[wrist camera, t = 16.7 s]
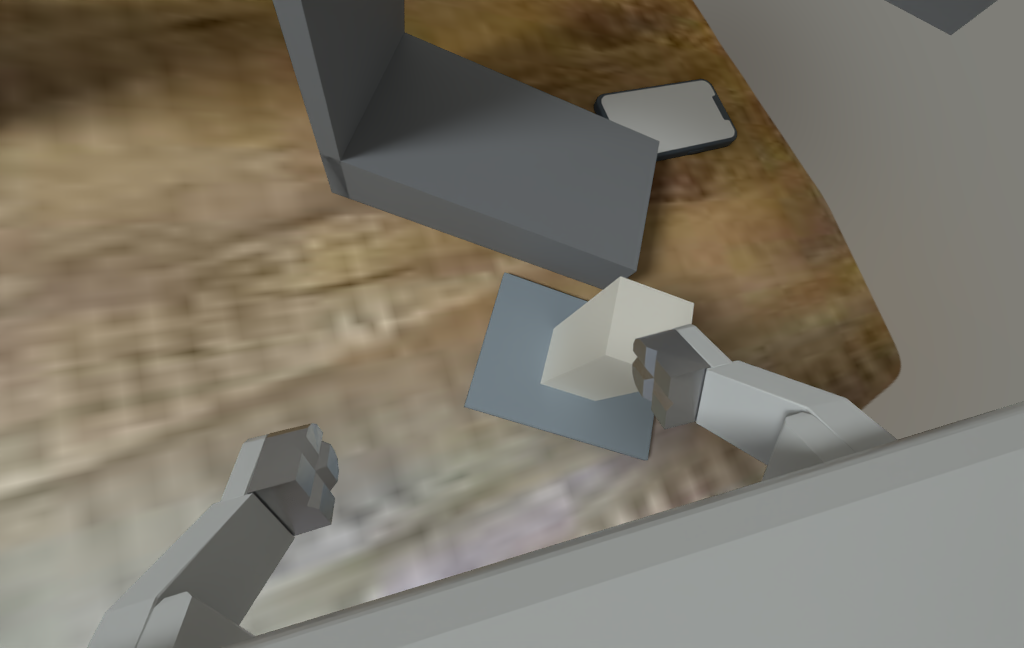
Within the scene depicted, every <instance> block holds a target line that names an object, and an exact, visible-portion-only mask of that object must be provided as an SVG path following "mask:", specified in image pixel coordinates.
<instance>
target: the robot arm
mask: <svg viewBox="0 0 1024 648" xmlns="http://www.w3.org/2000/svg"><path fill="white" fill-rule="evenodd" d="M633 352H634V353H635V354H636V356H637V358H636V359H635V361H634V362H633V363H632V374H633V378H634V382H635V385H636V387H637V389H638V391H639V393H640V394H641V396H642V397H643V398H645V399H647V400H649V401H651V402H652V405H651V411H652V412H653V413H654V415H655V416H656V418H657V419H658V421H659V422H660V424H661V425H662V427H663V428H664V429H668V428H672V427H676V426H679V425H683V424H687V423H691V422H695V421H696V423H697V424H699V425H700V426H702V427H704V428H706V429H707V430H709V431H711V432H712V433H714V434H716V435H717V436H719V437H721V438H722V439H724V440H726V441H727V442H729V443H731V444H732V445H734V446H736V447H737V448H739V449H741V450H743V451H744V452H746V453H748V454H749V455H751V456H753V457H754V458H756V459H758V460H759V461H761V462H763V463H764V464H766V465H767V468H766V471H765V473H764V476H763V478H762V481H761V482H758V483H755V484H752V485H748V486H745V487H742V488H739V489H735V490H732V491H729V492H726V493H722V494H719V495H716V496H712V497H709V498H706V499H703V500H699V501H696V502H693V503H690V504H686V505H683V506H680V507H676V508H673V509H670V510H667V511H663V512H660V513H657V514H654V515H650V516H647V517H644V518H640V519H637V520H634V521H631V522H627V523H624V524H621V525H618V526H614V527H611V528H608V529H604V530H601V531H598V532H595V533H591V534H588V535H585V536H582V537H578V538H575V539H572V540H569V541H565V542H562V543H559V544H555V545H552V546H549V547H546V548H542V549H539V550H536V551H533V552H529V553H526V554H523V555H520V556H516V557H513V558H510V559H507V560H503V561H500V562H497V563H494V564H490V565H487V566H484V567H481V568H477V569H474V570H471V571H467V572H464V573H461V574H458V575H454V576H451V577H448V578H445V579H441V580H438V581H435V582H432V583H428V584H425V585H422V586H419V587H415V588H412V589H409V590H405V591H402V592H399V593H396V594H392V595H389V596H386V597H383V598H379V599H376V600H373V601H369V602H366V603H363V604H360V605H356V606H353V607H350V608H347V609H343V610H340V611H337V612H333V613H330V614H327V615H324V616H320V617H317V618H314V619H311V620H307V621H304V622H301V623H297V624H294V625H291V626H288V627H284V628H281V629H278V630H275V631H271V632H268V633H265V634H261V635H258V636H254V635H253V634H251V633H250V632H248V631H247V630H245V629H244V628H242V627H241V626H239V624H240V623H241V621H242V620H243V618H244V616H245V615H246V613H247V612H248V610H249V609H250V607H251V606H252V604H253V602H254V601H255V599H256V598H257V596H258V595H259V593H260V591H261V590H262V588H263V587H264V585H265V584H266V582H267V581H268V579H269V577H270V576H271V574H272V573H273V571H274V570H275V568H276V567H277V565H278V563H279V562H280V560H281V559H282V557H283V556H284V554H285V552H286V551H287V549H288V548H289V546H290V545H291V543H292V542H293V540H294V536H296V535H299V534H302V533H305V532H309V531H312V530H315V529H318V528H321V527H325V526H328V525H331V522H332V516H333V509H334V502H335V497H334V496H333V495H332V493H331V492H330V491H331V489H332V488H333V487H334V486H335V484H336V483H337V481H338V473H339V469H338V459H337V456H336V454H335V451H334V449H333V448H332V446H331V444H329V443H326V442H324V441H321V440H322V435H323V432H322V431H321V429H320V428H319V427H318V425H317V424H312V423H311V424H307V425H303V426H299V427H295V428H290V429H286V430H282V431H278V432H274V433H270V434H267V435H263V436H259V437H254V438H250V439H248V440H247V441H246V442H245V443H244V444H243V445H242V448H241V450H240V453H239V455H238V458H237V460H236V463H235V465H234V468H233V470H232V473H231V475H230V478H229V481H228V483H227V486H226V488H225V491H224V493H223V496H222V498H221V501H220V502H217V503H214V504H212V505H211V506H210V507H209V508H208V509H207V510H206V511H205V512H204V513H203V514H202V515H201V516H200V517H199V519H198V520H197V521H196V522H195V523H194V524H193V525H192V526H191V527H190V528H189V529H188V530H187V531H186V532H185V533H184V534H183V535H182V536H181V537H180V538H179V539H178V540H177V541H176V542H175V543H174V544H173V545H172V546H171V547H170V548H169V549H168V550H167V551H166V552H165V553H164V554H163V555H162V556H161V557H160V558H159V559H158V560H157V561H156V562H155V563H154V564H153V565H152V566H151V567H150V568H149V569H148V570H147V571H146V572H145V573H144V574H143V575H142V576H141V577H140V578H139V579H138V580H137V581H136V582H135V583H134V584H133V585H132V586H131V587H130V588H129V589H128V590H127V591H126V592H125V593H124V594H123V595H122V596H121V597H120V598H119V599H118V600H117V601H116V602H115V603H114V604H113V605H112V606H111V607H110V608H109V609H108V610H107V611H106V612H105V614H104V616H103V618H102V620H101V622H100V624H99V626H98V627H97V629H96V631H95V633H94V635H93V637H92V639H91V641H90V643H89V645H88V647H87V648H1024V401H1023V402H1020V403H1016V404H1013V405H1010V406H1007V407H1003V408H1001V409H997V410H993V411H990V412H987V413H984V414H980V415H977V416H974V417H971V418H967V419H964V420H961V421H958V422H955V423H951V424H948V425H945V426H941V427H938V428H935V429H932V430H928V431H925V432H922V433H918V434H915V435H912V436H909V437H905V438H902V439H899V440H897V439H896V438H895V437H893V436H892V435H891V434H890V433H889V432H887V431H886V430H885V429H884V428H882V427H881V426H880V425H879V424H877V423H876V422H875V421H874V420H873V419H871V418H870V417H869V416H868V415H866V414H865V413H864V412H863V411H861V410H860V409H859V408H858V407H856V406H855V405H854V404H853V403H852V402H850V401H849V400H848V399H847V398H844V397H841V396H838V395H835V394H833V393H830V392H827V391H824V390H821V389H818V388H815V387H813V386H810V385H807V384H804V383H801V382H798V381H795V380H793V379H790V378H787V377H784V376H781V375H778V374H776V373H773V372H770V371H767V370H764V369H761V368H758V367H756V366H753V365H750V364H747V363H744V362H741V361H738V360H737V361H733V362H732V361H731V360H730V359H729V358H728V357H727V356H726V355H725V354H724V353H723V352H722V351H721V350H720V349H719V348H718V347H717V346H716V345H714V344H713V343H712V342H711V341H710V340H709V339H708V338H707V337H706V336H705V335H704V334H703V333H702V332H701V331H700V330H699V329H698V328H697V327H696V326H695V325H692V324H687V325H684V326H680V327H676V328H673V329H671V330H666V331H662V332H659V333H655V334H651V335H648V336H644V337H640V338H636V339H635V341H634V343H633Z"/></svg>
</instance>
